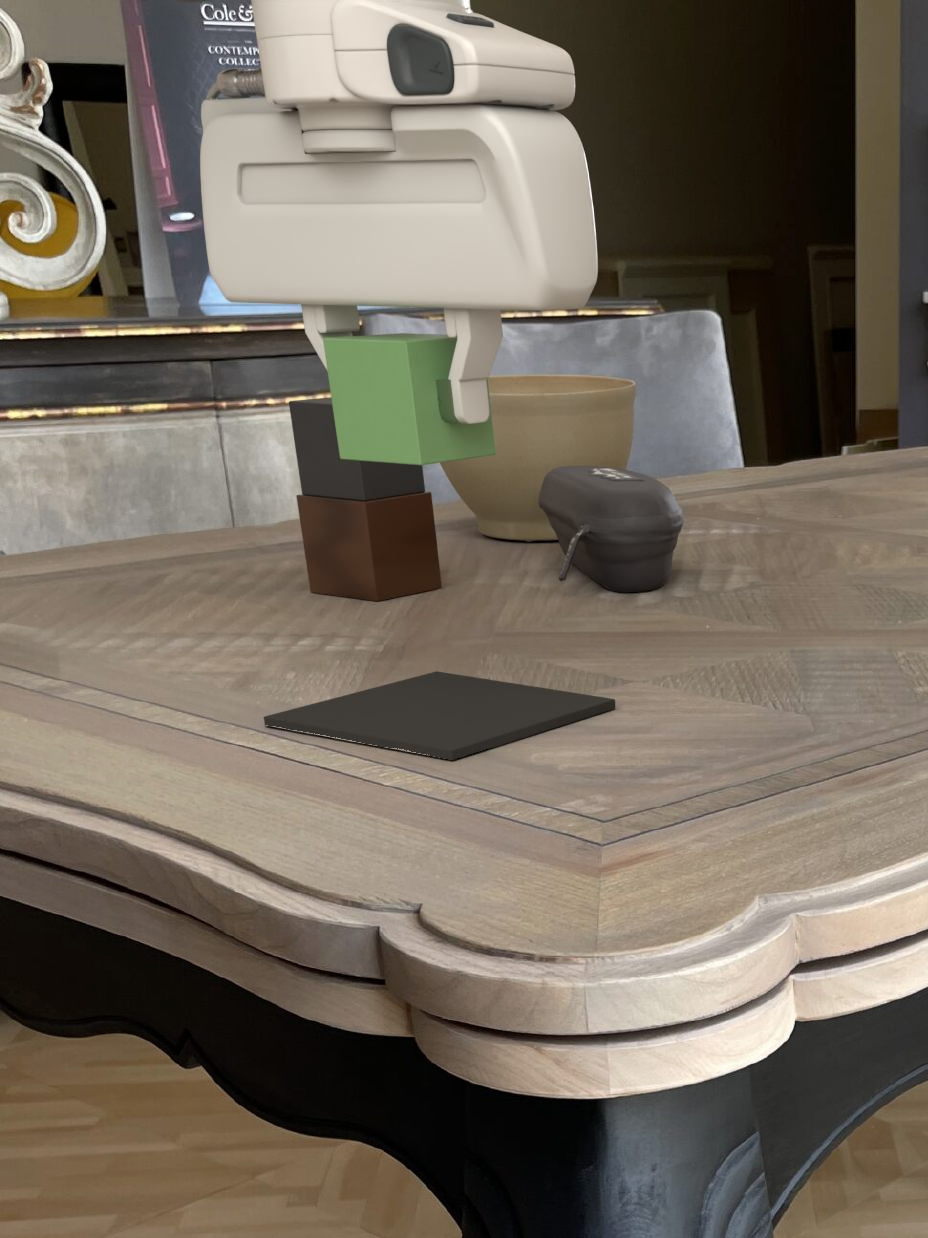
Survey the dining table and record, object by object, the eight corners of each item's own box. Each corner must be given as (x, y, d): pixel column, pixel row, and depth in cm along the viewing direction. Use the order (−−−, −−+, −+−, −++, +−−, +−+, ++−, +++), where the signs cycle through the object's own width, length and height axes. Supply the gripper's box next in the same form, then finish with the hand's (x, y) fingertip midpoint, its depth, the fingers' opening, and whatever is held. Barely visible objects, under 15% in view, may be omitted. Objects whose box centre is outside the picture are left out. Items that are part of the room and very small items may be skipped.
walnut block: (310, 592, 118) (295, 495, 115) (376, 579, 123) (363, 485, 120) (377, 601, 116) (364, 502, 113) (442, 588, 120) (431, 491, 117)
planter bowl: (418, 525, 145) (401, 376, 139) (614, 515, 150) (604, 372, 145) (457, 555, 132) (439, 393, 127) (669, 543, 138) (660, 387, 132)
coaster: (264, 726, 87) (262, 716, 87) (437, 680, 96) (436, 670, 96) (452, 761, 82) (451, 750, 82) (616, 708, 91) (615, 698, 91)
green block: (339, 459, 82) (322, 338, 80) (416, 449, 86) (402, 333, 84) (421, 465, 80) (405, 341, 78) (496, 455, 84) (484, 335, 82)
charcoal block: (301, 494, 115) (287, 401, 113) (363, 485, 120) (352, 395, 117) (364, 501, 113) (352, 405, 110) (425, 492, 117) (415, 399, 114)
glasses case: (733, 575, 120) (688, 460, 115) (593, 644, 118) (542, 530, 114) (655, 534, 134) (612, 429, 129) (529, 595, 132) (481, 491, 128)
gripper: (139, 65, 78) (201, 414, 84) (502, 44, 69) (539, 436, 76) (252, 74, 82) (302, 404, 89) (605, 56, 74) (631, 424, 80)
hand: (413, 419), depth 82 cm, fingers closed on green block, 5 cm apart
